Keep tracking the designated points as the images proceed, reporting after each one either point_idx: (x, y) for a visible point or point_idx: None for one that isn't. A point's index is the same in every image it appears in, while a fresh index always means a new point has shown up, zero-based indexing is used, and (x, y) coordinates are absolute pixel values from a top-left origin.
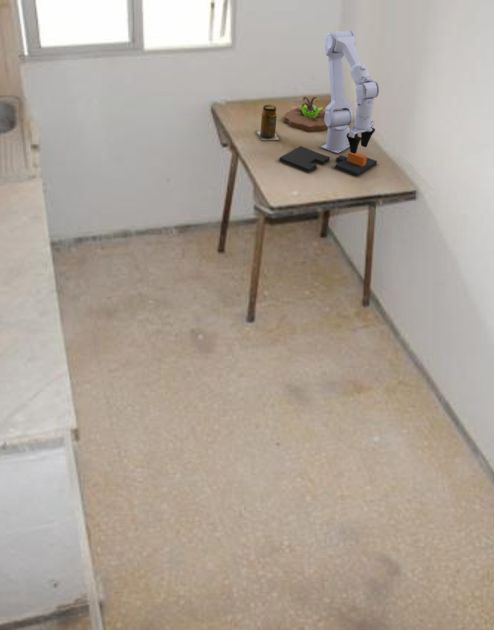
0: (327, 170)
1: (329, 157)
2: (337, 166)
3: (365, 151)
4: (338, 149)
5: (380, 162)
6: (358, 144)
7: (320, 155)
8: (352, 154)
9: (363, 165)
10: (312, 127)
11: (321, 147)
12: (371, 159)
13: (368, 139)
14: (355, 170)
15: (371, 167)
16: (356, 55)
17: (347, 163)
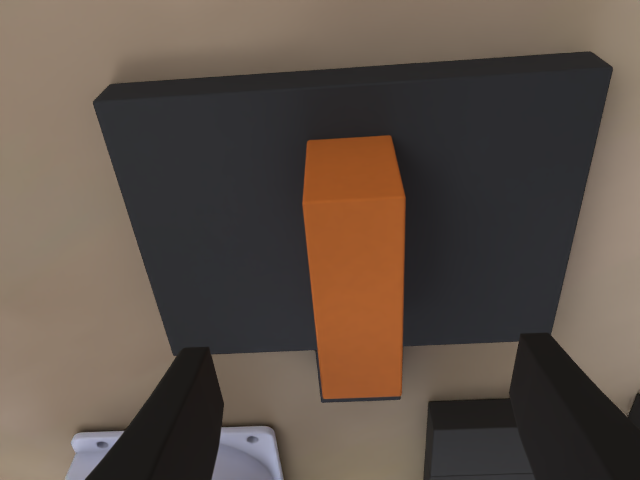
0: (619, 328)
1: (443, 430)
2: (552, 312)
3: (3, 322)
4: (230, 454)
5: (16, 84)
6: (613, 472)
7: (460, 477)
8: (401, 347)
9: (372, 140)
10: None
11: None
12: (126, 175)
13: (156, 463)
14: (548, 135)
15: (233, 76)
16: None
17: (438, 287)
